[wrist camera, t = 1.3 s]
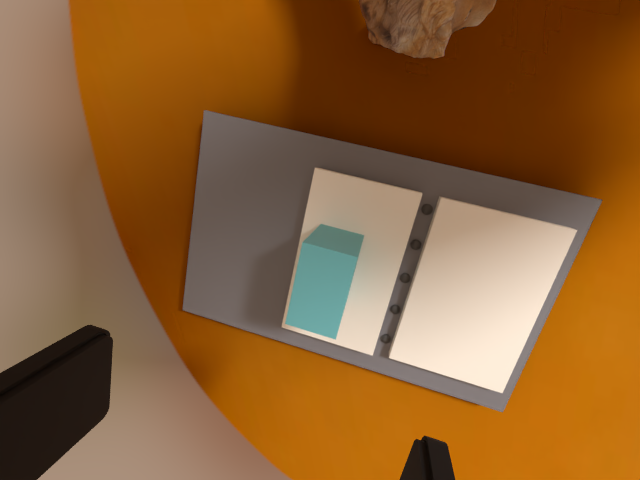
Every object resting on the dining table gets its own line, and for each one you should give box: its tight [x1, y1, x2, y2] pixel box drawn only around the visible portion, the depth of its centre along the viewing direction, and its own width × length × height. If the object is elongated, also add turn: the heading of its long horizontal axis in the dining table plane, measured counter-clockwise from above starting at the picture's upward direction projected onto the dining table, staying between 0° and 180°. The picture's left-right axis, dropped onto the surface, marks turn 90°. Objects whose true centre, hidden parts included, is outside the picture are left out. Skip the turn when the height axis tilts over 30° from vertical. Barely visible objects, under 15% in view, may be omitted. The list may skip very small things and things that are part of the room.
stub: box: [282, 168, 422, 356], centre depth 20 cm, size 7×12×6 cm, turn 167°
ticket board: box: [183, 110, 602, 412], centre depth 24 cm, size 26×16×2 cm, turn 77°
